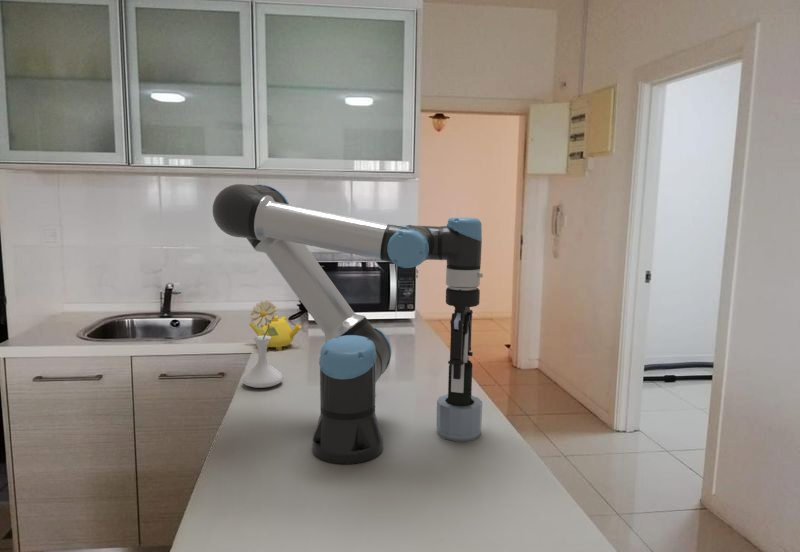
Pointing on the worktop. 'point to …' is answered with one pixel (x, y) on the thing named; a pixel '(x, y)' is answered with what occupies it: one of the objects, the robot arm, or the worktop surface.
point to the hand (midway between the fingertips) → (459, 387)
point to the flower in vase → (263, 348)
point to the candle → (464, 397)
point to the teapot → (282, 329)
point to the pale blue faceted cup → (459, 420)
